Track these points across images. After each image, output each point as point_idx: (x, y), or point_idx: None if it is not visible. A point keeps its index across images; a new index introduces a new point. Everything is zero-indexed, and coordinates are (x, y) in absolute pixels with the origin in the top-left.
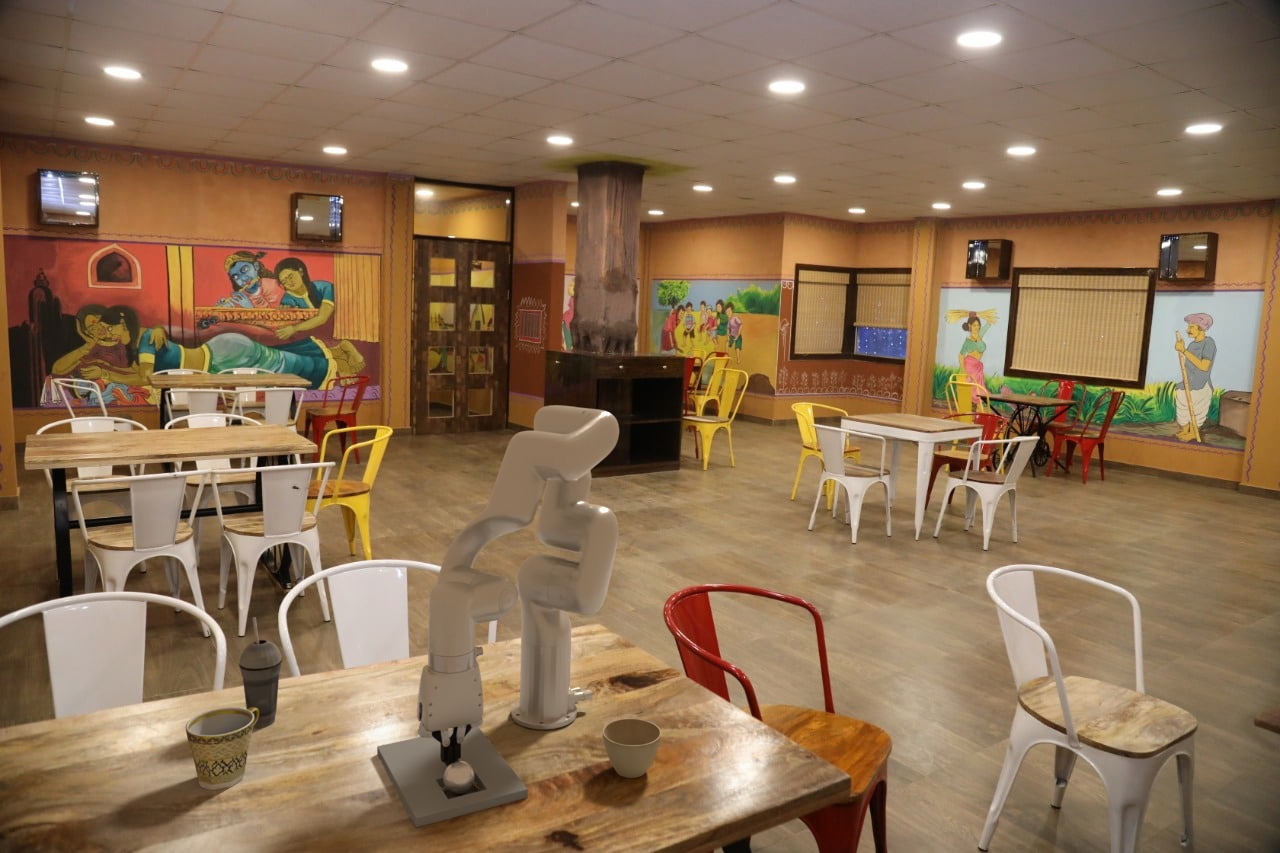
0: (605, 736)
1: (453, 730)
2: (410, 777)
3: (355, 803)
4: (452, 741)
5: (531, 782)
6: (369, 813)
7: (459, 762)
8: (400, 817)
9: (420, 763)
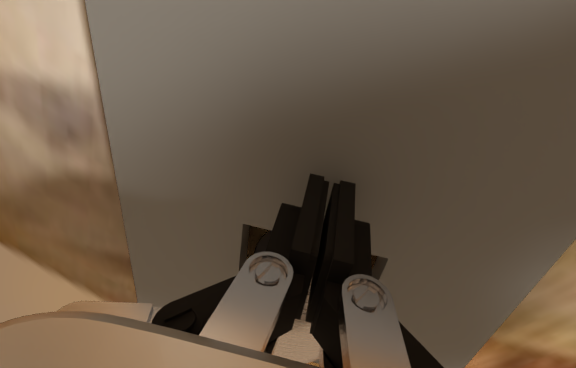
0: None
1: (341, 329)
2: (164, 159)
3: (6, 123)
4: (320, 297)
5: (508, 342)
6: (50, 191)
7: (285, 353)
8: (126, 249)
9: (232, 86)
